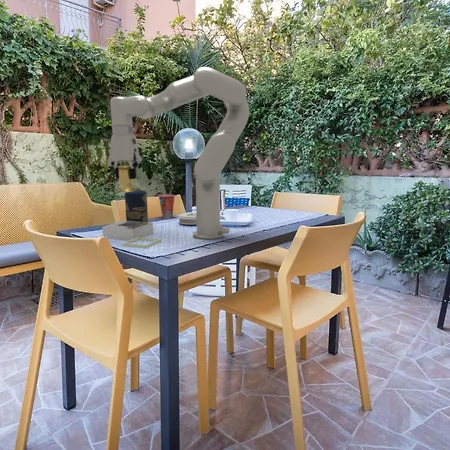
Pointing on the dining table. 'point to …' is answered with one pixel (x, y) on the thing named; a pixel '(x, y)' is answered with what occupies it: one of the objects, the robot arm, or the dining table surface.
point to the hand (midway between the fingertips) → (126, 178)
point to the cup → (166, 205)
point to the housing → (127, 230)
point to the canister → (136, 206)
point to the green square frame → (129, 244)
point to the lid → (188, 218)
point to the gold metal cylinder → (125, 179)
